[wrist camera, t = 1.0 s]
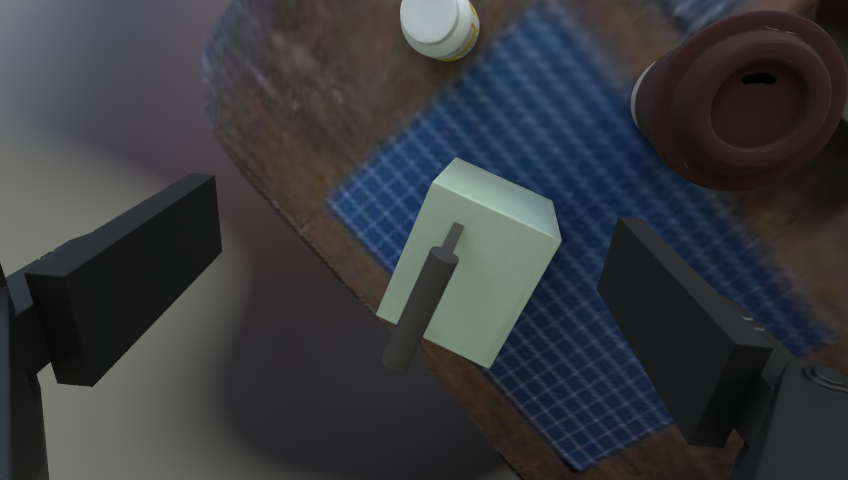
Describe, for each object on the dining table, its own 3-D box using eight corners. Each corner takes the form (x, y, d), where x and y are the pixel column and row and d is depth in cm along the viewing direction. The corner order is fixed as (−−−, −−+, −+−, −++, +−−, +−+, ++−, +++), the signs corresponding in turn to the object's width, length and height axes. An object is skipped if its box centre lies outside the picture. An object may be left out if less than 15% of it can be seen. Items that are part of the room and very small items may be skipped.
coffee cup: (679, 180, 41) (759, 230, 27) (587, 115, 41) (620, 131, 27) (771, 81, 37) (919, 79, 23) (671, 8, 37) (759, -37, 23)
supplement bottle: (480, 59, 41) (467, 52, 32) (421, 63, 42) (393, 58, 33) (479, -9, 39) (466, -36, 31) (417, -3, 41) (387, -27, 32)
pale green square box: (573, 286, 25) (406, 209, 26) (480, 440, 30) (339, 371, 30) (552, 200, 44) (455, 156, 44) (497, 303, 48) (409, 262, 49)
